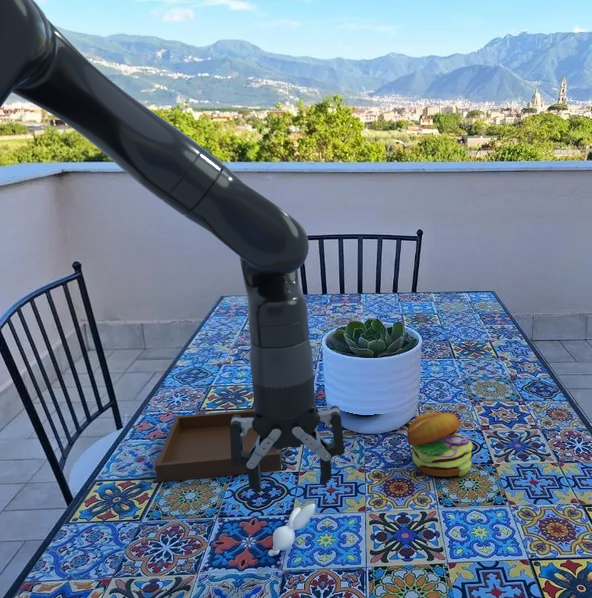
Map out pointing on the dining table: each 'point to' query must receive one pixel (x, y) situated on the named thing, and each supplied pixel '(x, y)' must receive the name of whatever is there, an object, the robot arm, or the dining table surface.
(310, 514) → the rabbit figurine
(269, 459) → the tray
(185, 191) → the robot arm
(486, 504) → the dining table surface
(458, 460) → the cheeseburger
